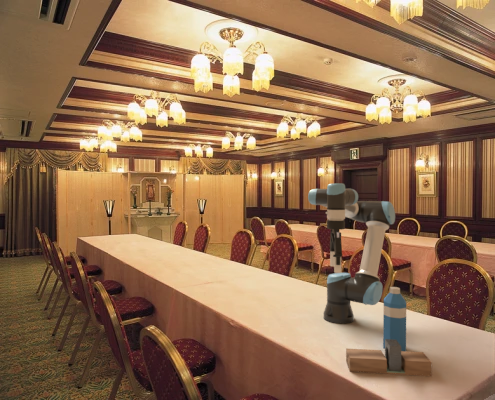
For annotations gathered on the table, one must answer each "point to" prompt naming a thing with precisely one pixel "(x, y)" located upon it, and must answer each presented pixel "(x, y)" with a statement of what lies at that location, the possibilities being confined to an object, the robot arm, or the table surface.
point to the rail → (378, 363)
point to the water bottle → (395, 318)
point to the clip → (393, 355)
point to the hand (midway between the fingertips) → (335, 269)
